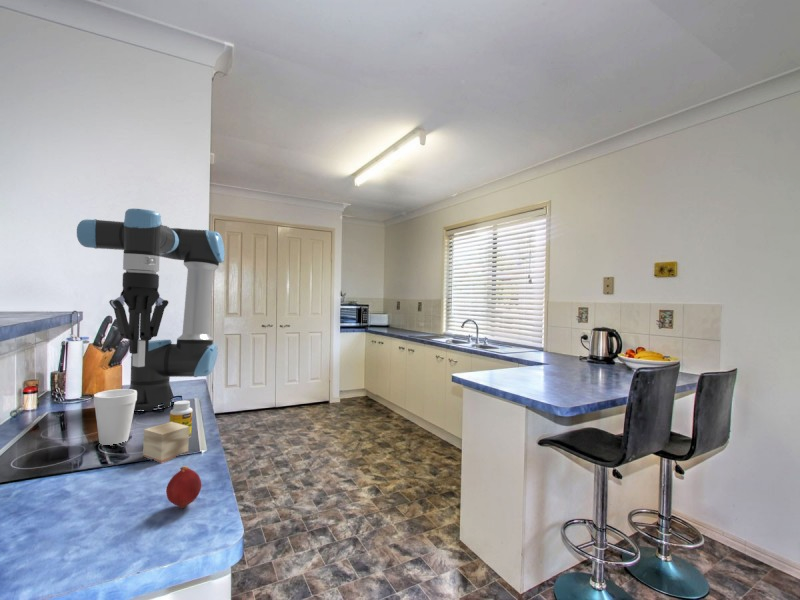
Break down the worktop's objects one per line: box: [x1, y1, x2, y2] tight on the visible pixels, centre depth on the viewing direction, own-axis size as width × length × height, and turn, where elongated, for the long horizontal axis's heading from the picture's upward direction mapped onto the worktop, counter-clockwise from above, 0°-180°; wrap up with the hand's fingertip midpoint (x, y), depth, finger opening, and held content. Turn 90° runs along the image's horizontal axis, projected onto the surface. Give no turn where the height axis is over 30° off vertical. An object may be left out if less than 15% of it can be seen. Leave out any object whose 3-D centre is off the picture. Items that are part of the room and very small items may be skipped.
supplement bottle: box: [169, 400, 194, 439], centre depth 107 cm, size 6×6×10 cm
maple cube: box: [142, 421, 190, 464], centre depth 96 cm, size 7×7×7 cm
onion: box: [166, 465, 202, 509], centre depth 73 cm, size 6×6×8 cm
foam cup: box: [93, 388, 137, 446], centre depth 103 cm, size 10×9×13 cm
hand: (138, 365), depth 96 cm, fingers closed
